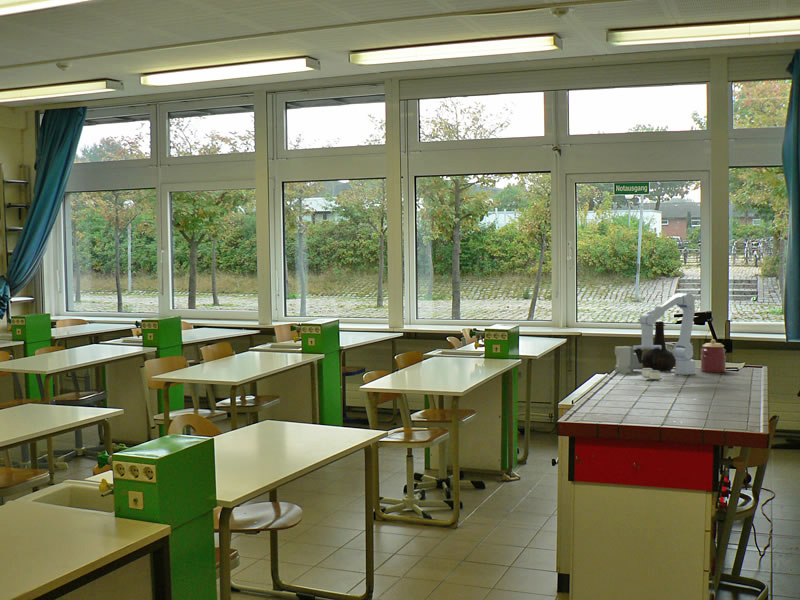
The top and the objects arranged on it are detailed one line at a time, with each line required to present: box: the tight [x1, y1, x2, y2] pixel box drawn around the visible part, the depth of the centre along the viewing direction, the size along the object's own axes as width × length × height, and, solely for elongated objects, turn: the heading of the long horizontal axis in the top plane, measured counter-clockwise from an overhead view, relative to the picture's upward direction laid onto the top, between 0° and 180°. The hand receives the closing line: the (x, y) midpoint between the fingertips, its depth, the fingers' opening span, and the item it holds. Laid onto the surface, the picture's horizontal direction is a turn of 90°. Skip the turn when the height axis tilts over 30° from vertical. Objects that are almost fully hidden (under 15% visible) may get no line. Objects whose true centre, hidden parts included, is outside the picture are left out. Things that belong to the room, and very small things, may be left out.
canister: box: [700, 338, 727, 373], centre depth 449 cm, size 13×13×18 cm
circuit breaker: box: [614, 345, 644, 374], centre depth 441 cm, size 8×14×15 cm, turn 89°
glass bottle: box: [642, 321, 676, 372], centre depth 449 cm, size 18×18×28 cm
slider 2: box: [649, 370, 661, 380], centre depth 414 cm, size 4×4×4 cm
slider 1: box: [641, 367, 653, 378], centre depth 422 cm, size 4×4×4 cm
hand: (647, 363), depth 422 cm, fingers open, 7 cm apart
